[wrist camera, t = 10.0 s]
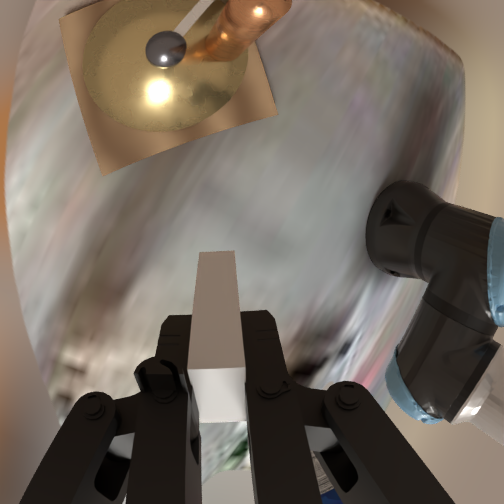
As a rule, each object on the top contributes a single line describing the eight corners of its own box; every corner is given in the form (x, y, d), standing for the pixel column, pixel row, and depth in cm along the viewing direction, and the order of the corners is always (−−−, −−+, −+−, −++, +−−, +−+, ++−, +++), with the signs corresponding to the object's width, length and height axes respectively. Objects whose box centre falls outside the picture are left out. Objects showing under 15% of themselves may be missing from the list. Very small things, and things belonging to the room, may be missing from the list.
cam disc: (97, -5, 21) (78, -73, 9) (247, -2, 26) (298, -62, 14) (80, 137, 26) (32, 129, 14) (240, 133, 31) (296, 124, 19)
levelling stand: (224, -22, 26) (235, -42, 21) (271, 116, 34) (289, 111, 29) (62, 25, 22) (51, 9, 18) (105, 174, 30) (97, 178, 26)
